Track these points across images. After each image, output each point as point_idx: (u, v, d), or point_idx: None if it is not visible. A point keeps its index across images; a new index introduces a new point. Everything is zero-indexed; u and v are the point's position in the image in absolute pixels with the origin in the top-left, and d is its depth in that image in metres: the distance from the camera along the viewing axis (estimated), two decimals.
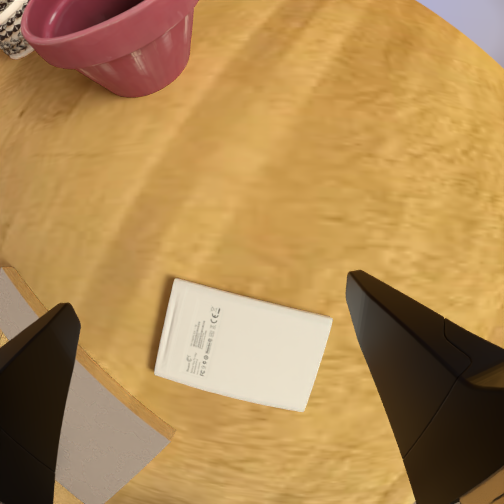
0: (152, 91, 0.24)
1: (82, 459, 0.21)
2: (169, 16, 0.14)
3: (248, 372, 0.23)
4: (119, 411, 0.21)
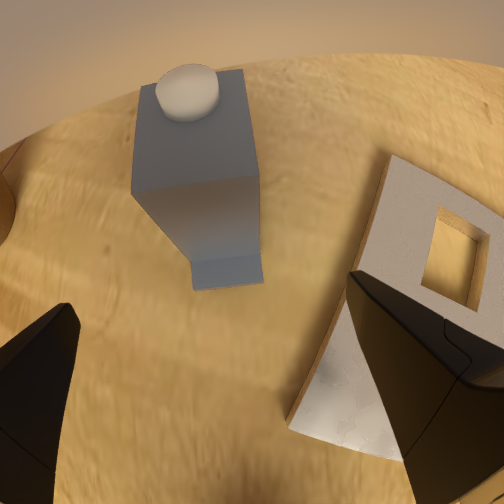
0: None
1: None
2: None
3: None
4: None
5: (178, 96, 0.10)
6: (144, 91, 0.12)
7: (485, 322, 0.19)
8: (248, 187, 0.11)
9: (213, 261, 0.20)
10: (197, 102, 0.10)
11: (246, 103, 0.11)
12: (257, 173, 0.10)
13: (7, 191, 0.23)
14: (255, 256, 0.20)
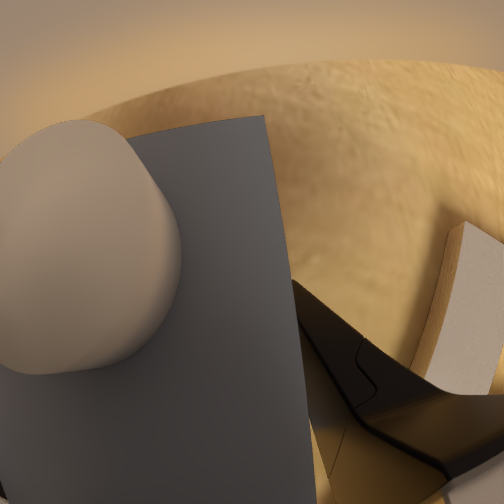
0: None
1: None
2: None
3: None
4: None
5: (6, 310, 0.02)
6: None
7: None
8: None
9: None
10: (65, 368, 0.02)
11: (287, 300, 0.03)
12: None
13: None
14: None
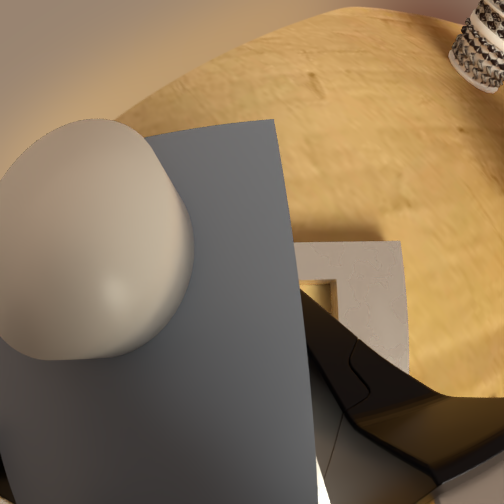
0: None
1: None
2: None
3: None
4: None
5: (24, 298, 0.02)
6: None
7: None
8: None
9: None
10: (83, 352, 0.02)
11: (294, 294, 0.03)
12: None
13: None
14: None
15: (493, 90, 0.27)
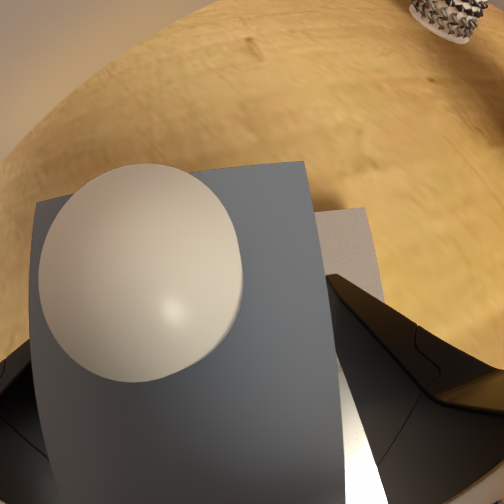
0: None
1: None
2: None
3: None
4: None
5: (104, 330, 0.03)
6: (42, 222, 0.04)
7: None
8: None
9: None
10: (171, 373, 0.03)
11: (326, 313, 0.04)
12: None
13: None
14: None
15: (464, 41, 0.23)
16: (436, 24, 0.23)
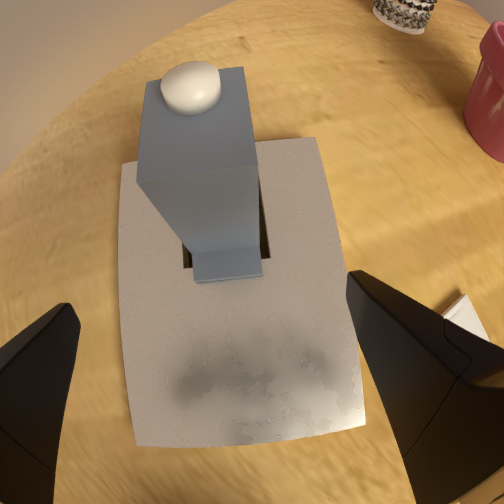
0: (495, 157, 0.25)
1: (220, 383, 0.19)
2: None
3: None
4: (347, 362, 0.19)
5: (182, 91, 0.11)
6: (149, 87, 0.12)
7: (289, 261, 0.21)
8: (247, 177, 0.12)
9: (214, 253, 0.20)
10: (200, 96, 0.11)
11: (246, 98, 0.12)
12: (256, 163, 0.11)
13: None
14: (255, 249, 0.21)
15: (418, 32, 0.31)
16: (393, 20, 0.31)
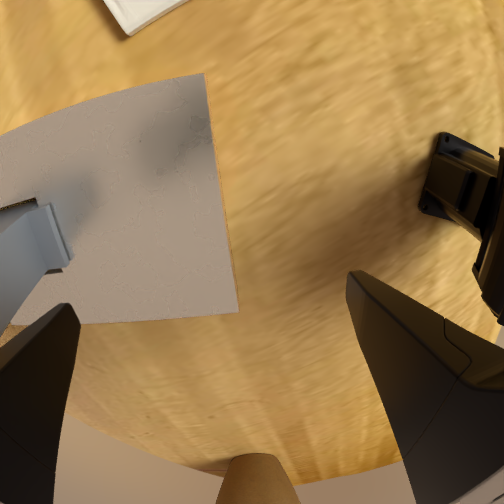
0: None
1: (153, 237, 0.19)
2: None
3: None
4: (122, 105, 0.15)
5: None
6: None
7: (35, 179, 0.16)
8: None
9: (41, 252, 0.18)
10: None
11: None
12: None
13: (230, 470, 0.37)
14: (28, 216, 0.17)
15: None
16: None
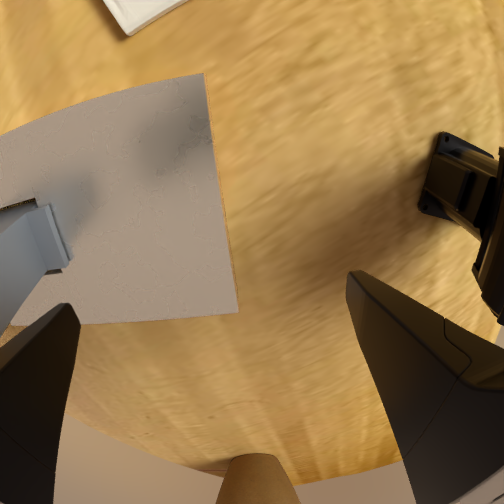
0: None
1: (153, 238, 0.19)
2: None
3: None
4: (121, 105, 0.15)
5: None
6: None
7: (34, 179, 0.16)
8: None
9: (40, 252, 0.18)
10: None
11: None
12: None
13: (230, 470, 0.37)
14: (28, 217, 0.17)
15: None
16: None
